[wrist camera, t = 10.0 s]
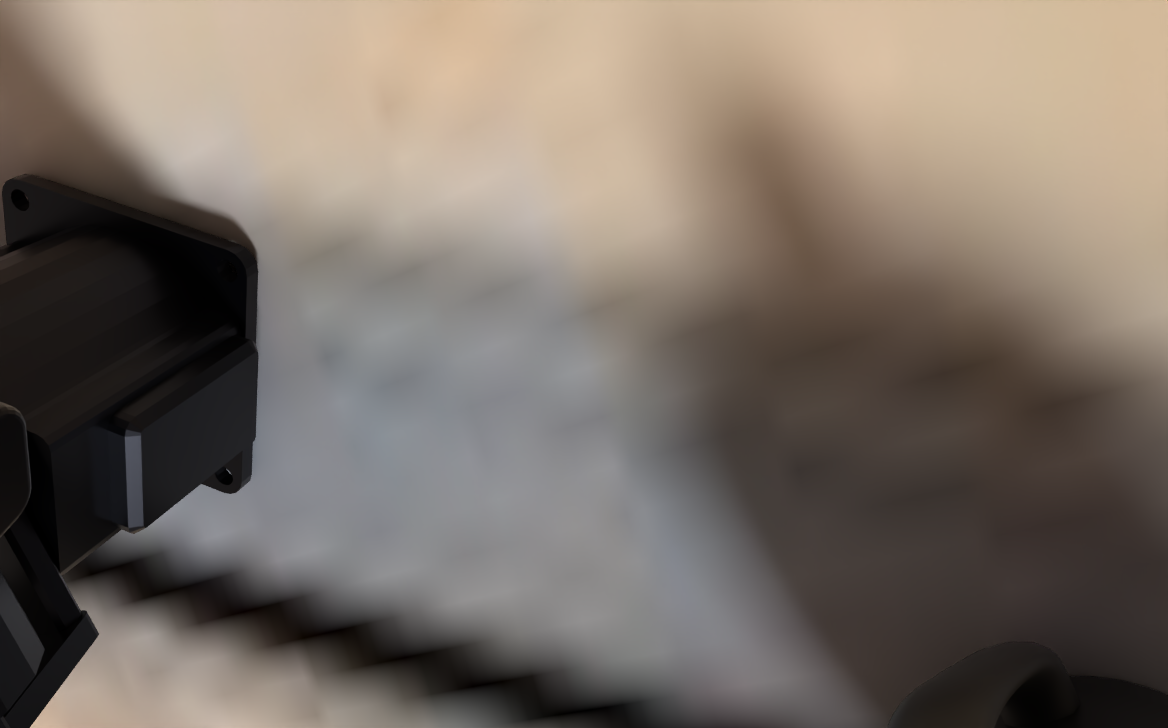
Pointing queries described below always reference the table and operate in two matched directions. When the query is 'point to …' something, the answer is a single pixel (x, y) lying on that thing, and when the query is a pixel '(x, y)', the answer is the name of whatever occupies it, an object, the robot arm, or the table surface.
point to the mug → (1027, 695)
